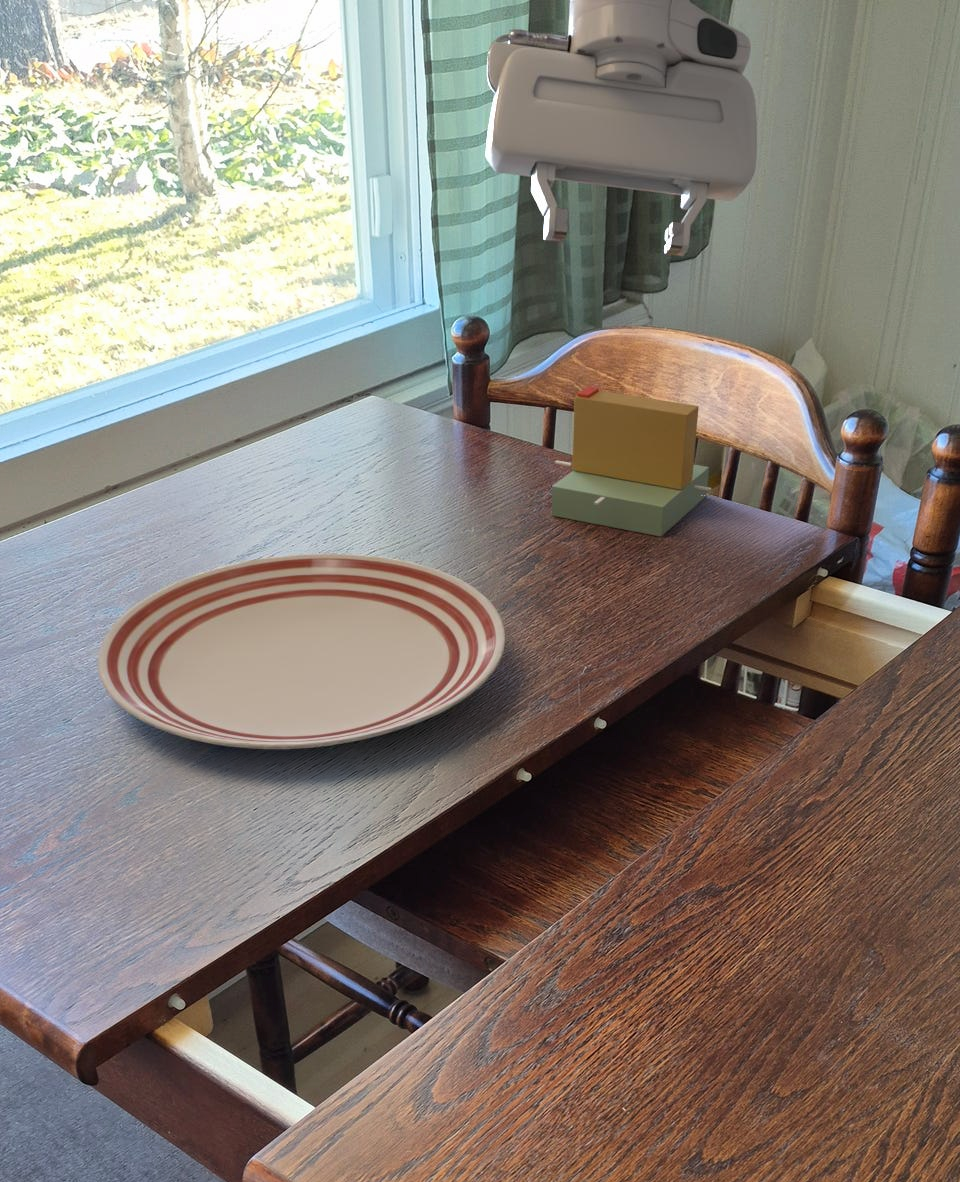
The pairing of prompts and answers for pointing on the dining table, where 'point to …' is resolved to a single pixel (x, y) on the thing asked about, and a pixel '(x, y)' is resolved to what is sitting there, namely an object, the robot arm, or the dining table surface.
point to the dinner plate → (301, 650)
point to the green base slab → (626, 501)
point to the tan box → (634, 438)
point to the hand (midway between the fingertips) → (616, 245)
